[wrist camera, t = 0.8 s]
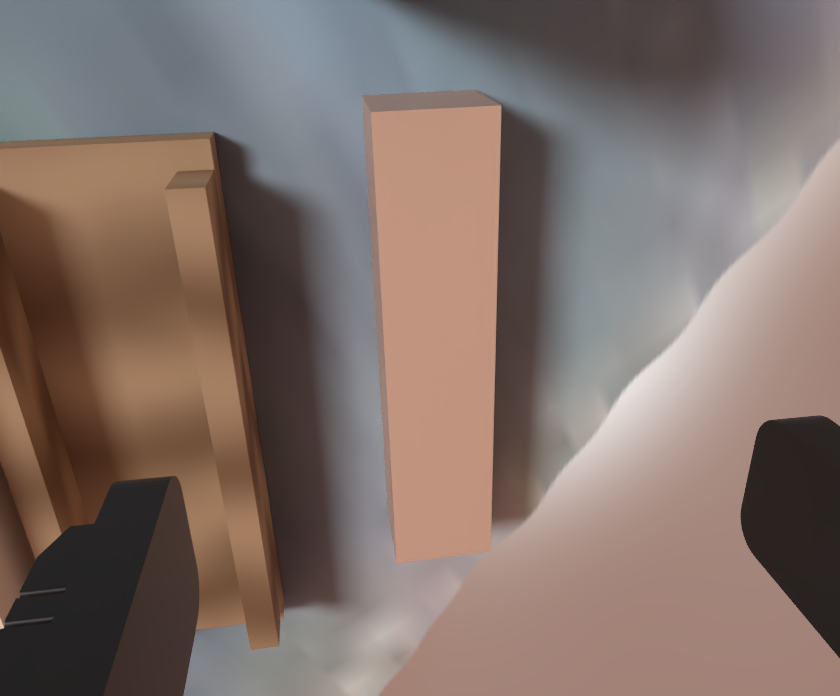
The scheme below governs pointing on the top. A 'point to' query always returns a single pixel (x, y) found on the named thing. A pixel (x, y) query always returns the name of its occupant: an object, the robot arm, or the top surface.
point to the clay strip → (435, 312)
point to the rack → (132, 355)
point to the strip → (11, 550)
